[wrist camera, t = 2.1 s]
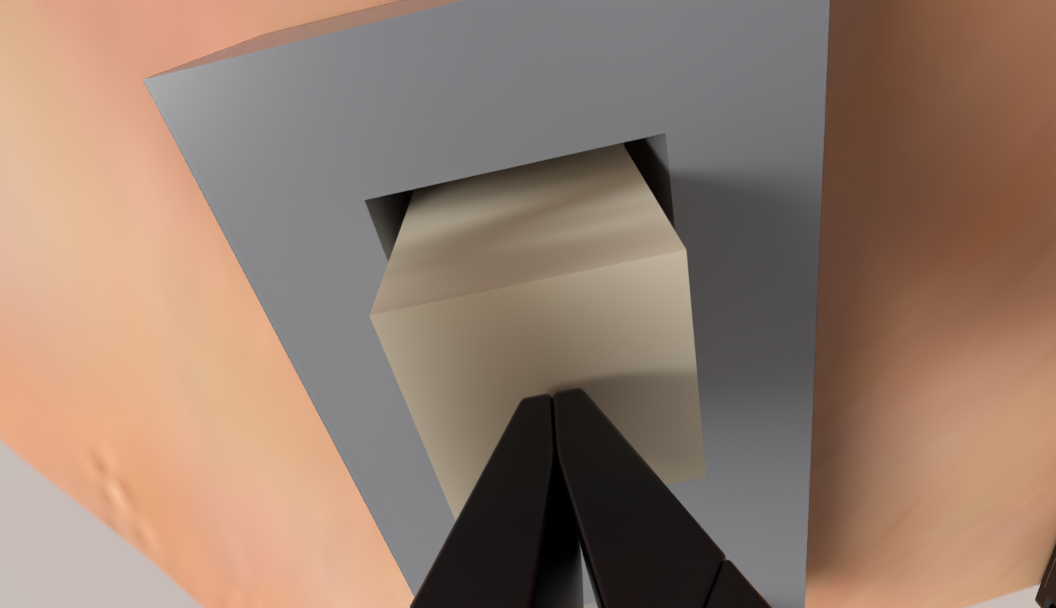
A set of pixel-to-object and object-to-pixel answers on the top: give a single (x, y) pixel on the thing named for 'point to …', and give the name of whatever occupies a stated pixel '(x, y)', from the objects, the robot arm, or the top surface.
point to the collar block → (516, 139)
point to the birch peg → (542, 311)
